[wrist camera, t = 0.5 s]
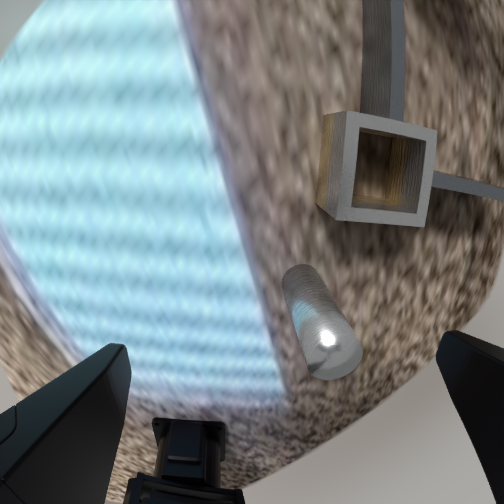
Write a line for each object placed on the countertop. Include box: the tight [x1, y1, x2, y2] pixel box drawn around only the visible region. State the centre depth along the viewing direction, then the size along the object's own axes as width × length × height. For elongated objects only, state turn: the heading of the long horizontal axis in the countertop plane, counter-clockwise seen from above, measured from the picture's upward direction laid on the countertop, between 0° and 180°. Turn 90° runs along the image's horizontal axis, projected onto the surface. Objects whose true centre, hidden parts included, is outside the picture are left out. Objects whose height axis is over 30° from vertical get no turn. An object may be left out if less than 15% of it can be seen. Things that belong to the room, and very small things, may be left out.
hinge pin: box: [282, 264, 363, 380], centre depth 17 cm, size 3×3×8 cm
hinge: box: [316, 0, 504, 227], centre depth 15 cm, size 15×13×4 cm
